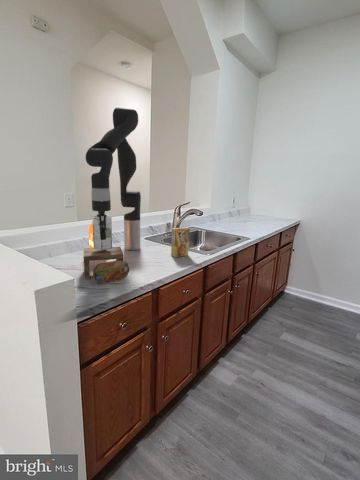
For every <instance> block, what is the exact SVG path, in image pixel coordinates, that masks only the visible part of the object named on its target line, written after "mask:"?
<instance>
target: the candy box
mask: <svg viewBox="0 0 360 480" xmlns="http://www.w3.org/2000/svg"><path fill="white" fill-rule="evenodd" d="M189 242H190V228H189V227H186V226H184V227H183V226H182V227H172V228H171V245H170V246H171V247H170V248H171V249H170V250H171V251H170V252H171V253H170V255H171V256H172V257H173V258H178V257H179V258H180V257H185V256H189V246H190V245H189V244H190V243H189Z"/></svg>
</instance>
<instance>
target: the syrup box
mask: <svg viewBox="0 0 360 480" xmlns="http://www.w3.org/2000/svg"><path fill="white" fill-rule="evenodd" d="M106 215H107V214H106ZM97 218H98V219H97ZM98 220H99V217H97V215H92V222H93V245H94V249H97V250H100V251H103V250H107V249H111V248H112V247H113V239H112V238H113V233H112V232H113V231H112V227H113V226H112V221H113V220H112V216H111V215H107V219H106V220H107V225H106V239H105V240H101V239H100V230H99V228H100V226H98ZM99 223H100V222H99ZM101 227H104V226H102V225H101Z"/></svg>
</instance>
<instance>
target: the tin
mask: <svg viewBox="0 0 360 480" xmlns="http://www.w3.org/2000/svg"><path fill="white" fill-rule="evenodd" d="M129 272H130V266H129V263H127V261H125V260H123V261H122V260H116V259H114V260H110V261H104V262H100V263H98V264H96V265H95V267H94V268H93V270H92V277H93V279H94V280H95V282H97V283H98V284H100V285H105V284H109V283H113V282H117V281H122V280H124V279H126V278H127V277H128V275H129Z"/></svg>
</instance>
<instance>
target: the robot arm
mask: <svg viewBox="0 0 360 480" xmlns="http://www.w3.org/2000/svg"><path fill="white" fill-rule="evenodd" d="M112 123H113V128H112V129H110V130H109V131H107V132H106V133H105V134H104V135H103V136H102V138H101V139H100V140H99V141H98V142H95V143H94V144H93V145H91V146H90V147H89V148H88V149H87V151H86V153H85V162H86V163H87V165H88V166H90V167H93V168H100V170H99V171H98V172H95V173H92V175H91V178H90V179H91V182H90V183H91V210H92V211H93V212H97V214H96V216H97V217H99V220H98V226H100V228H99V230H100V239H101V240H105V239H106V225H107V220H106V219H107V214H106V212H110V211H111V210H112V206H111V205H112V203H111V190H110V175H111V171H112V166H113V161H114V156H113V154H114V153H115V152H117V164H118V174H119V175H118V176H119V181H120V182H119V185H120V186H119V189H120V204H121V206H122V207H123V208H134V209H133V210H132V211H130V212H126V213H124V214H123V229H124V230H123V232H124V233H123V234H124V235H123V236H124V237H123V238H124V239H123V240H124V250H127V251H138V250H140V249H141V202H142V201H141V200H142V197H141V196H142V195H141V191H139V190H127V187H128V185H129V183H130V181H131V179H132V178H133V176H134V174H135V173H136V170H137V156H136V153H135V151H134V149H133V147H132V146H131V145H130V144H129V141H128V140H127V137H128V136H129V135H130V134H132V132H134V131H135V130H136V129H137V127H138V124H139V114H138V112H137V110H136V109H134V108H128V107H127V108H126V107H114V109H113V112H112ZM97 219H98V218H97ZM99 222H100V223H99ZM101 225H102V226H104V227H101Z"/></svg>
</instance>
